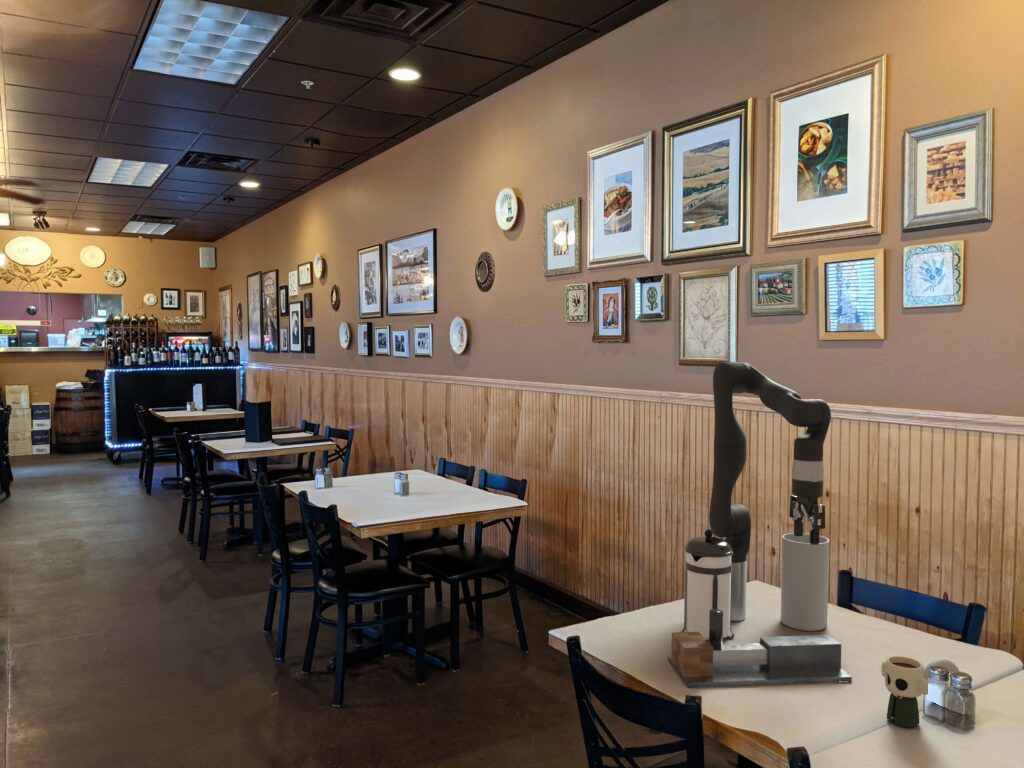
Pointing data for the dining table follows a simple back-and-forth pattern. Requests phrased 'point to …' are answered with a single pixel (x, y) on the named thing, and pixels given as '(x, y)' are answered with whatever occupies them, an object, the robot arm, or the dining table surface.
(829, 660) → the grey base with blocks
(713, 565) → the coffee press
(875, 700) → the dining table surface
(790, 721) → the dining table surface
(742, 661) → the slider
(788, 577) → the cylinder vase
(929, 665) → the donut
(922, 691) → the character mug
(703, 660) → the brown wooden block
